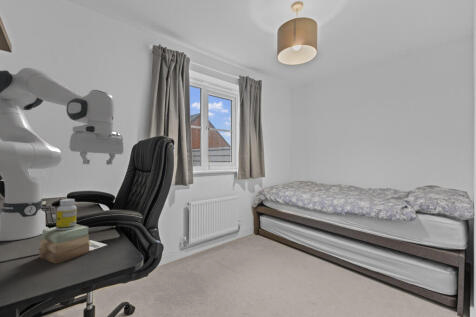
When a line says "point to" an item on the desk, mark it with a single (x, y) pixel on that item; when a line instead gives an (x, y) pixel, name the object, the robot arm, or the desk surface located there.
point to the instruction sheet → (95, 245)
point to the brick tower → (64, 243)
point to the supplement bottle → (66, 215)
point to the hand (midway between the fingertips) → (98, 164)
